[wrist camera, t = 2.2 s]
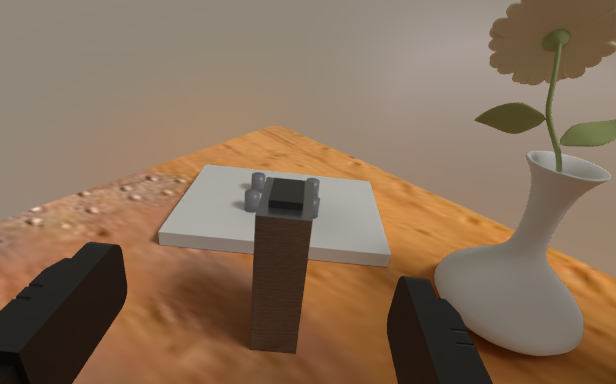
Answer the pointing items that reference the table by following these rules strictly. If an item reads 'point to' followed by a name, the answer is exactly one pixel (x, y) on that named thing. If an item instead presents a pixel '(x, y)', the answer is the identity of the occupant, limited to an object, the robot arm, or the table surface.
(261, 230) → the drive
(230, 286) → the table surface
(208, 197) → the tray
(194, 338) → the table surface
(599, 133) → the flower in vase
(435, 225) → the table surface
